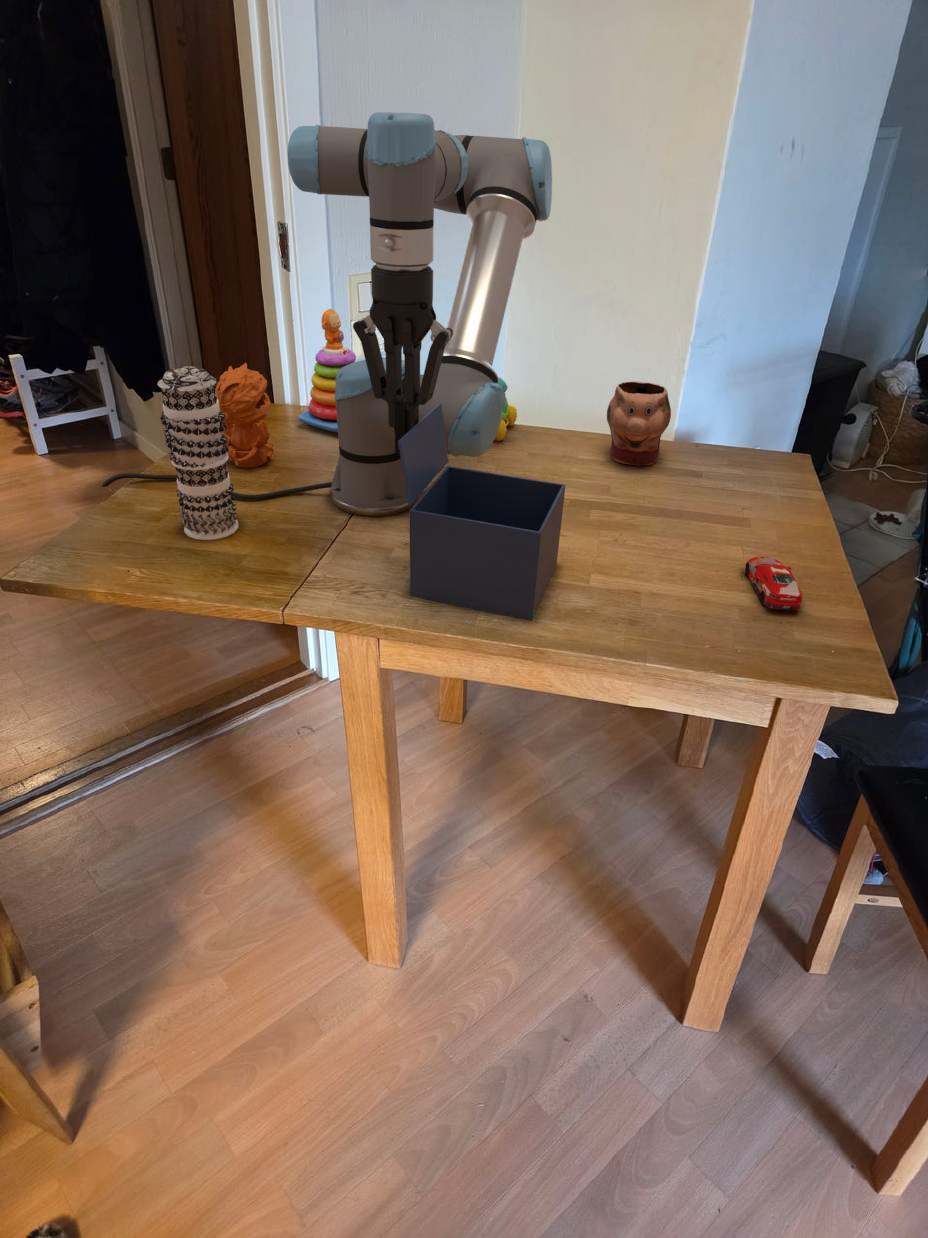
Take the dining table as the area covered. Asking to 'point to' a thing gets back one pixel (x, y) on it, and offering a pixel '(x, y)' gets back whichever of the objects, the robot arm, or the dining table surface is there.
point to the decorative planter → (638, 422)
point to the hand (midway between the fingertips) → (403, 450)
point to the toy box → (485, 541)
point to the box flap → (423, 453)
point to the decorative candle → (198, 452)
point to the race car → (774, 583)
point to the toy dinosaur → (245, 415)
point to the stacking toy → (327, 375)
